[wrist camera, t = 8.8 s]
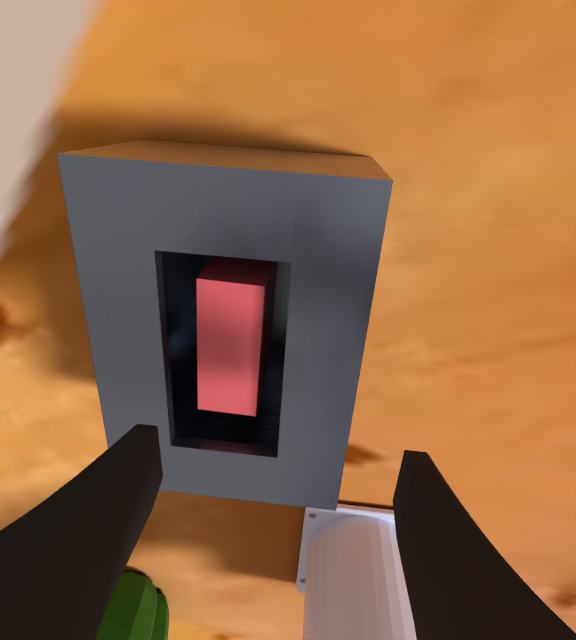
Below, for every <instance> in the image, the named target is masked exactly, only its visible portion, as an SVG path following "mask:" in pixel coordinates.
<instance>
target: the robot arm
mask: <svg viewBox="0 0 576 640" xmlns="http://www.w3.org/2000/svg"><path fill="white" fill-rule="evenodd" d="M162 478H163V470H162V462H161V453H160V444H159V436H158V427H157V426H155V425H145V424H136V425H135V426H134V427H133V428H131V429H130V430H129V431H128V432H127V433H126V434H124V435H123V436H122V437H121V438H120V439H119V440H118V441H117V442H115V443H114V444H113V445H112V446H111V447H110V448H109V449H107V450H106V451H105V452H104V453H103V454H102V455H100V456H99V457H98V458H97V459H96V460H95V461H93V462H92V463H91V464H90V465H89V466H87V467H86V468H85V469H84V470H83V471H81V472H80V473H79V474H78V475H77V476H75V477H74V478H73V479H72V480H70V481H69V482H68V483H67V484H65V485H64V486H63V487H61V488H60V489H59V490H57V491H56V492H55V493H54V494H52V495H51V496H50V497H48V498H47V499H46V500H44V501H43V502H42V503H40V504H39V505H38V506H36V507H35V508H33V509H32V510H31V511H29V512H28V513H26V514H25V515H23V516H22V517H20V518H19V519H17V520H16V521H14V522H13V523H11V524H10V525H8V526H7V527H5V528H4V529H2V530H1V531H0V640H95V638H96V635H97V632H98V630H99V627H100V624H101V622H102V619H103V616H104V614H105V611H106V608H107V606H108V603H109V601H110V599H111V596H112V594H113V592H114V589H115V587H116V585H117V583H118V581H119V579H120V577H121V574H122V572H123V570H124V568H125V566H126V564H127V562H128V560H129V558H130V556H131V553H132V551H133V549H134V547H135V545H136V543H137V541H138V539H139V537H140V535H141V532H142V530H143V528H144V526H145V524H146V522H147V520H148V517H149V515H150V513H151V511H152V508H153V505H154V502H155V500H156V497H157V494H158V491H159V488H160V485H161V482H162ZM393 508H394V510H389V509H380V508H371V507H363V506H354V505H345V504H337V508H336V511H333V510H325V509H316V508H308V507H305V515H304V523H303V531H302V540H301V548H300V556H299V564H298V572H297V580H296V589H297V591H299V592H302V593H305V601H304V622H303V640H576V633H575V632H574V631H573V630H572V629H570V628H569V627H568V626H567V625H566V624H565V623H564V622H563V621H562V620H561V619H560V618H559V617H558V616H557V615H556V614H555V613H554V612H553V611H552V610H551V609H550V608H549V607H548V606H547V605H546V604H545V603H544V602H543V601H542V600H541V599H540V598H539V597H538V596H537V595H536V594H535V593H534V592H533V591H532V590H531V589H530V587H529V586H528V585H527V584H526V583H525V582H524V581H523V580H522V579H521V578H520V576H519V575H518V574H517V573H516V572H515V571H514V570H513V569H512V567H511V566H510V565H509V564H508V563H507V562H506V560H505V559H504V558H503V557H502V556H501V555H500V553H499V552H498V551H497V550H496V548H495V547H494V546H493V545H492V543H491V542H490V541H489V540H488V538H487V537H486V536H485V535H484V533H483V532H482V531H481V530H480V528H479V527H478V526H477V524H476V523H475V522H474V520H473V519H472V518H471V516H470V515H469V513H468V512H467V511H466V509H465V508H464V507H463V505H462V504H461V502H460V501H459V500H458V498H457V497H456V495H455V494H454V492H453V491H452V490H451V488H450V487H449V485H448V484H447V482H446V481H445V479H444V478H443V476H442V475H441V473H440V472H439V470H438V468H437V467H436V465H435V464H434V462H433V461H432V459H431V458H430V456H429V455H428V454H427V452H418V451H408V450H405V451H404V455H403V459H402V463H401V468H400V472H399V476H398V481H397V485H396V489H395V493H394V498H393ZM312 513H314V514H312Z"/></svg>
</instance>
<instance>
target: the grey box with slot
mask: <svg viewBox="0 0 576 640" xmlns="http://www.w3.org/2000/svg"><path fill="white" fill-rule="evenodd" d="M57 158H58V163H59V169H60V175H61V181H62V186H63V192H64V198H65V204H66V209H67V215H68V221H69V226H70V232H71V238H72V244H73V249H74V255H75V261H76V267H77V272H78V278H79V284H80V290H81V295H82V301H83V307H84V312H85V318H86V324H87V330H88V335H89V341H90V347H91V353H92V358H93V364H94V370H95V375H96V381H97V387H98V393H99V398H100V404H101V410H102V416H103V421H104V427H105V433H106V439H107V444H108V449H109V448H110V447H111V446H112V445H113V444H114V443H115V442H117V441H118V440H119V439H120V438H121V437H122V436H123V435H124V434H126V433H127V432H128V431H129V430H130V429H131V428H133V427H134V426H135V425H136V424H145V425H155V426H157V427H158V436H159V444H160V453H161V462H162V470H163V478H162V482H161V485H160V488H159V490H161V491H170V492H178V493H187V494H196V495H204V496H213V497H222V498H230V499H239V500H247V501H256V502H265V503H273V504H282V505H290V506H299V507H308V508H316V509H325V510H333V511H336V508H337V503H338V497H339V491H340V485H341V479H342V474H343V468H344V462H345V456H346V450H347V445H348V439H349V433H350V427H351V421H352V415H353V410H354V404H355V398H356V392H357V386H358V381H359V375H360V369H361V363H362V357H363V352H364V346H365V340H366V334H367V328H368V322H369V317H370V311H371V305H372V299H373V293H374V288H375V282H376V276H377V270H378V264H379V259H380V253H381V247H382V241H383V235H384V230H385V224H386V218H387V212H388V206H389V200H390V195H391V189H392V183H393V180H392V179H391V178H390V177H389V176H388V174H387V173H386V172H385V171H384V170H383V169H382V168H381V167H380V166H379V165H378V163H377V162H376V161H375V160H374V159H373V158H372V157H365V156H352V155H339V154H326V153H314V152H301V151H288V150H275V149H262V148H249V147H237V146H224V145H211V144H198V143H185V142H172V141H160V140H147V139H140V140H134V141H128V142H122V143H116V144H110V145H104V146H98V147H93V148H87V149H81V150H75V151H69V152H63V153H57ZM213 256H224V257H235V258H246V259H257V260H268V261H278V265H277V277H276V289H275V300H274V312H273V324H272V336H271V348H270V357H269V361H268V365H267V370H266V374H265V378H264V383H263V387H262V391H261V395H260V400H259V404H258V408H257V413H256V416H249V415H241V414H233V413H225V412H217V411H210V410H202V409H198V376H197V277H198V276H199V275H200V273H201V272H202V271H203V270H204V268H205V267H206V266H207V264H208V263H209V262H210V260H211V259H212V258H213Z"/></svg>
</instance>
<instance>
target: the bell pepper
mask: <svg viewBox="0 0 576 640" xmlns="http://www.w3.org/2000/svg"><path fill="white" fill-rule="evenodd" d="M168 626H169V609H168V604H167V600H166V598H165V595H162V594H159V593H157V592H156V587H155V586H154V585H153V584H152V582H151V581H150V580H149V579H148V578H147V577H145V576H142V575H139V574H136V573H132V572H122V574H121V577H120V579H119V581H118V583H117V585H116V587H115V589H114V592H113V594H112V596H111V599H110V601H109V603H108V606H107V608H106V611H105V614H104V616H103V619H102V622H101V624H100V627H99V630H98V632H97V635H96V638H95V640H167V639H168Z"/></svg>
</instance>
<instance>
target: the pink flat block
mask: <svg viewBox="0 0 576 640" xmlns="http://www.w3.org/2000/svg"><path fill="white" fill-rule="evenodd" d="M277 265H278V261H268V260H257V259H246V258H235V257H224V256H213V258H212V259H211V260H210V262H209V263H208V264H207V266H206V267H205V268H204V270H203V271H202V272H201V273H200V275H199V276H198V277H197V376H198V409H202V410H210V411H217V412H225V413H233V414H241V415H249V416H256V413H257V408H258V404H259V400H260V395H261V391H262V387H263V383H264V378H265V374H266V370H267V365H268V361H269V357H270V348H271V336H272V324H273V312H274V300H275V289H276V277H277Z"/></svg>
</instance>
